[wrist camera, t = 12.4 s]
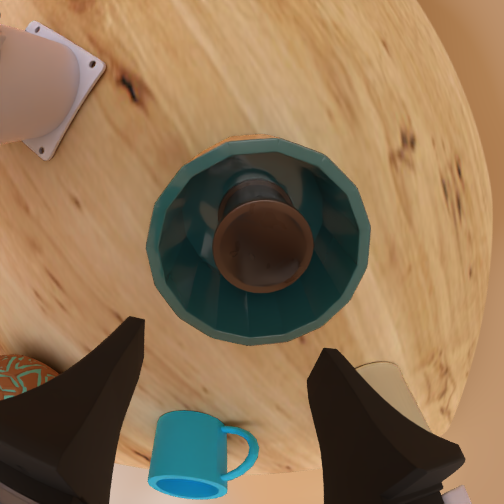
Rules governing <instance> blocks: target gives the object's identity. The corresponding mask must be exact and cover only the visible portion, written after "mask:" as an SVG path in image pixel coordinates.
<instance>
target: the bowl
mask: <svg viewBox="0 0 504 504" xmlns="http://www.w3.org/2000/svg"><path fill="white" fill-rule="evenodd" d="M248 179H265V180H269V181H271V182H274V183H276V184H277V185H279V186H280V187H281V188H282V189H283V190H284V191H285V192H286V193H287V195H288V196H289V197H290V199H291V201H292V204H293V207H295V208H296V209H297V210H298V211H299V212H300V213H301V214H302V215H303V217H304V218H305V219H306V221H307V222H308V224H309V226H310V228H311V231H312V235H313V241H314V248H313V254H312V258H311V261H310V263H309V265H308V267H307V269H306V270H305V272H304V273H303V274H302V275H301V276H300V278H299V279H297V280H296V281H295V282H294V283H292V284H291V285H289V286H287V287H285V288H284V289H281V290H278V291H275V292H270V293H253V292H248V291H245V290H242V289H240V288H237V287H236V286H234V285H232V284H231V283H230V282H228V281H227V280H226V279H225V278H224V277H223V276H222V274H221V273H220V272H219V270H218V268H217V266H216V264H215V261H214V258H213V250H212V245H213V238H214V233H215V230H216V228H217V225H218V224H219V222H218V211H219V206H220V203H221V201H222V199H223V197H224V195H225V194H226V193H227V191H228V190H229V189H230V188H232V187H233V186H234V185H236V184H237V183H239V182H242V181H244V180H248ZM370 232H371V225H370V222H369V219H368V216H367V213H366V210H365V207H364V205H363V202H362V199H361V196H360V193H359V191H358V188H357V187H356V185H355V184H354V183H353V182H352V181H351V180H350V179H349V178H348V177H347V176H346V175H345V174H344V173H343V172H342V171H341V170H340V169H339V168H338V167H337V166H336V165H335V164H334V163H333V162H332V161H331V160H330V159H329V158H328V157H327V156H325V155H324V154H322V153H320V152H317V151H315V150H312V149H309V148H307V147H304V146H301V145H299V144H296V143H293V142H290V141H288V140H285V139H282V138H278V137H274V136H270V135H266V134H255V135H242V136H231V137H228V138H226V139H225V140H223V141H221V142H219V143H217V144H215V145H213V146H211V147H209V148H208V149H206V150H204V151H202V152H201V153H199V154H198V155H197V156H195V157H194V158H193V159H191V160H190V161H189V162H187V163H186V164H185V165H184V166H182V167H181V169H180V170H179V171H178V172H177V174H176V175H175V176H174V178H173V179H172V180H171V182H170V183H169V184H168V186H167V187H166V188H165V190H164V191H163V193H162V194H161V195H160V197H159V198H158V199H157V201H156V202H155V205H154V208H153V212H152V217H151V222H150V227H149V232H148V237H147V242H146V251H147V255H148V260H149V264H150V268H151V272H152V276H153V280H154V284H155V286H156V288H157V289H158V291H159V292H160V294H161V295H162V296H163V298H164V299H165V300H166V302H167V303H168V304H169V306H170V307H171V308H172V310H173V311H174V312H175V313H176V315H177V316H178V317H179V318H180V319H182V320H183V321H185V322H186V323H188V324H190V325H191V326H193V327H194V328H196V329H198V330H199V331H201V332H202V333H204V334H206V335H207V336H209V337H212V338H214V339H219V340H223V341H227V342H232V343H237V344H241V345H246V346H248V345H249V346H254V345H265V344H274V343H283V342H288V341H291V340H293V339H295V338H298V337H300V336H302V335H304V334H307V333H309V332H311V331H313V330H316V329H318V328H320V327H321V326H323V325H324V324H325V323H326V322H327V321H329V320H330V319H331V318H332V317H333V316H334V315H335V314H336V313H337V312H338V311H339V310H341V309H342V308H343V307H344V306H345V305H346V304H347V303H348V302H349V300H351V298H352V296H353V294H354V292H355V290H356V288H357V286H358V284H359V282H360V281H361V279H362V277H363V275H364V273H365V271H366V269H367V265H368V256H369V245H370Z"/></svg>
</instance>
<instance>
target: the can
mask: <svg viewBox="0 0 504 504" xmlns="http://www.w3.org/2000/svg"><path fill="white" fill-rule="evenodd" d="M356 371H357V372H358V373H359V374H360V375H361V376H362V377H363V378H364V379H365V380H366V382H367V383H368V384H369V385H370V386H371V387H372V388H373V389H374V390H375V391H376V392H377V393H378V394H379V395H380V396H381V397H382V398H383V399H385V400H386V401H387V402H388V403H389V404H390V405H391V406H393V407H394V408H395V409H396V410H397V411H399V412H400V413H401V414H403V415H404V416H405V417H407V418H408V419H409V420H411V421H412V422H414V423H416V424H417V425H419V426H420V427H422V428H424V429H425V430H427V431H429V432H431V430H430V428H429V426H428V424H427V422H426V420H425V418H424V416H423V414H422V412H421V410H420V409H419V407H418V405H417V403H416V401H415V399H414V397H413V395H412V393H411V391H410V389H409V388H408V386H407V384H406V382H405V380H404V378H403V376H402V372H401V370H400V368H399V367H398V366H397V365H395V364H393V363H390V362H375V363H370V364H367V365H363V366H361V367H358V368H356ZM431 433H432V432H431Z"/></svg>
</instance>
